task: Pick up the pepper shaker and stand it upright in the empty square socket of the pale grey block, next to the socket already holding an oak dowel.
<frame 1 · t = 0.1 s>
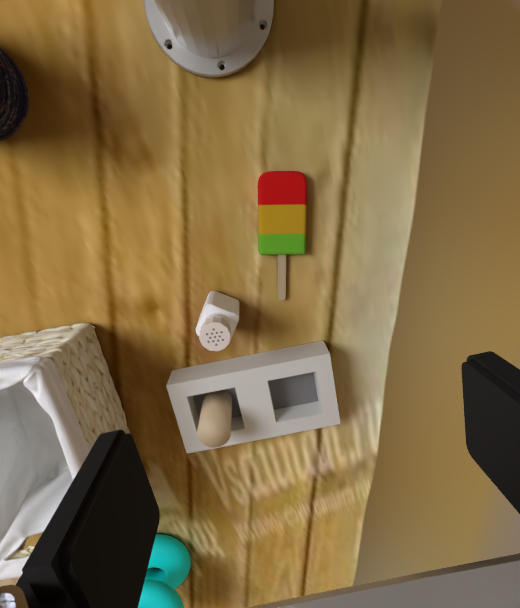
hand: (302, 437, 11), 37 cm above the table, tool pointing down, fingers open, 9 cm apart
popsicle: (281, 237, 46), on the table
pepper shaker: (220, 307, 48), on the table
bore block: (254, 388, 51), on the table
donuts: (159, 553, 59), on the table
storage basket: (66, 404, 51), on the table
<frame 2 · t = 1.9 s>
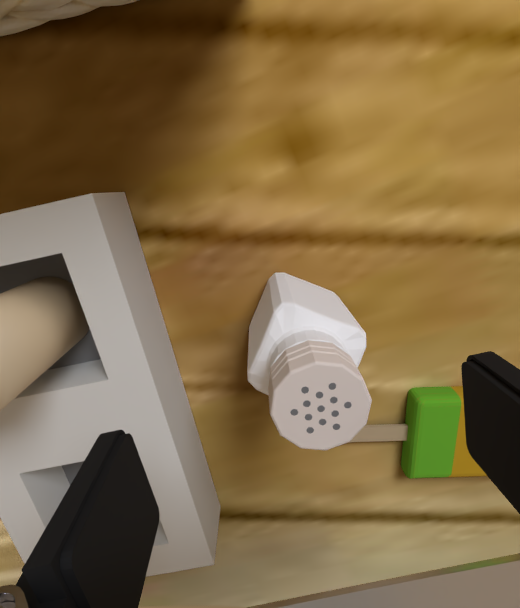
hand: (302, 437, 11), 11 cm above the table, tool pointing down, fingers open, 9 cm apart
popsicle: (428, 420, 24), on the table
pepper shaker: (292, 311, 21), on the table
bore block: (95, 386, 22), on the table
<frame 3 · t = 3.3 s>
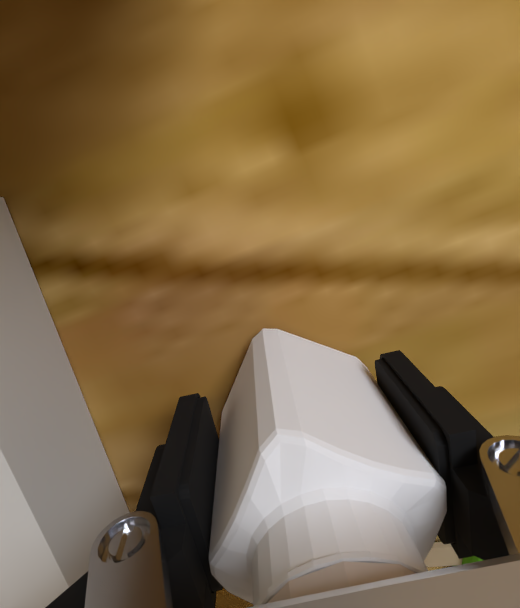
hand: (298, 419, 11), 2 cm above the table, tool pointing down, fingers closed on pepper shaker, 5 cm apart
popsicle: (488, 527, 17), on the table
pepper shaker: (290, 383, 14), on the table, touching gripper
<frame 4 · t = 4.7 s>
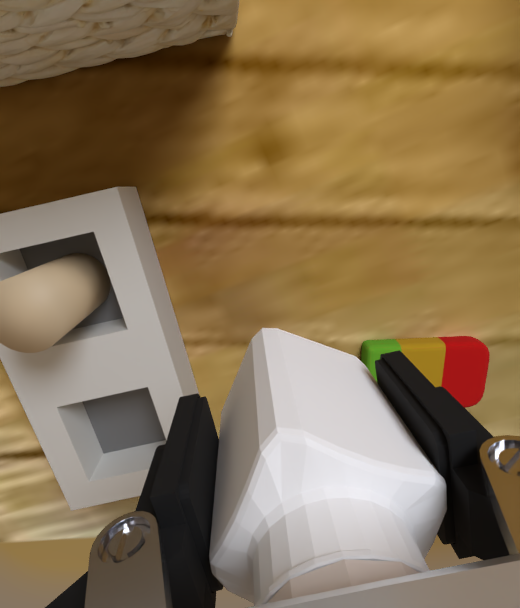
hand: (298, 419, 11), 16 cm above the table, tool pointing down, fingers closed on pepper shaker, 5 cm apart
popsicle: (380, 368, 30), on the table
pepper shaker: (289, 383, 14), point 14 cm above the table, touching gripper
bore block: (111, 344, 28), on the table
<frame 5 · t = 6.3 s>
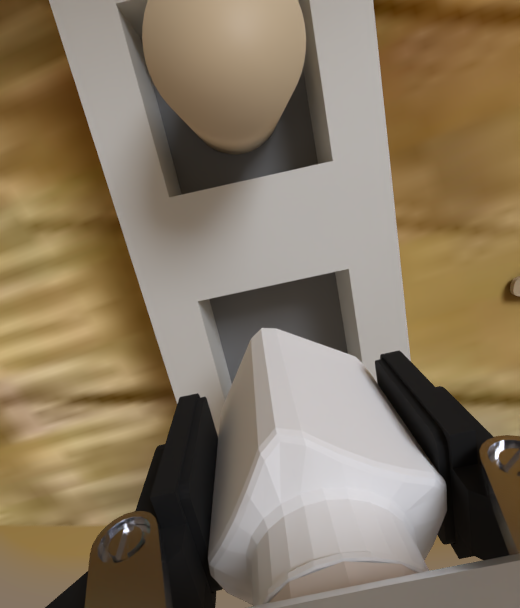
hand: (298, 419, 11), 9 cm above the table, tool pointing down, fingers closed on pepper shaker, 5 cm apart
pepper shaker: (288, 383, 13), point 6 cm above the table, touching gripper
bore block: (258, 224, 18), on the table
when the fingers open (5 cm above the table, at t = 7.4 s): pepper shaker drops 2 cm, resting on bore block.
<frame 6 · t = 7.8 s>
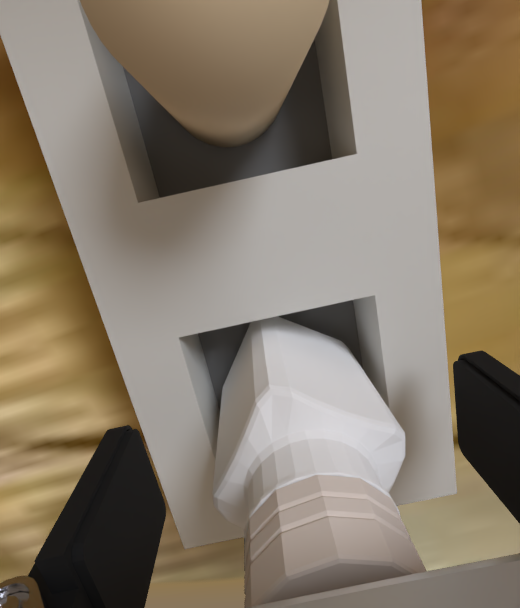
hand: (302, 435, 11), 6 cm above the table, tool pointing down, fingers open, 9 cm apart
pepper shaker: (283, 364, 15), point 1 cm above the table, touching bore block
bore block: (257, 234, 15), on the table
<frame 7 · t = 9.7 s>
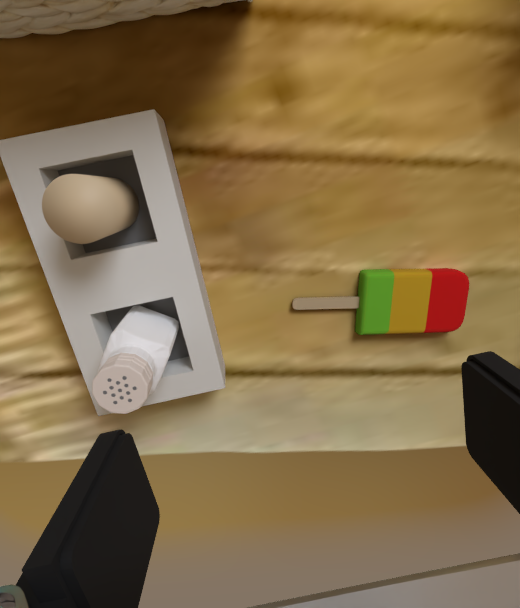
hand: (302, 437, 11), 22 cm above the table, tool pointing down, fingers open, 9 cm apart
popsicle: (374, 298, 34), on the table
pepper shaker: (150, 330, 31), point 1 cm above the table, touching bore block
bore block: (135, 267, 31), on the table
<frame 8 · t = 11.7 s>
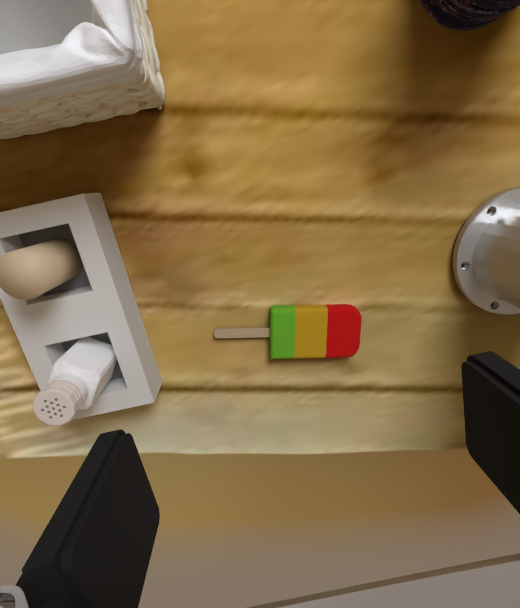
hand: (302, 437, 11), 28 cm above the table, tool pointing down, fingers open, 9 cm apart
popsicle: (285, 328, 41), on the table
pepper shaker: (98, 355, 39), point 1 cm above the table, touching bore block
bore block: (85, 305, 38), on the table
storage basket: (20, 35, 32), on the table
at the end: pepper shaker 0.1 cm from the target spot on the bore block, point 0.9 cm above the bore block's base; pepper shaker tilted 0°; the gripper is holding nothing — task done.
